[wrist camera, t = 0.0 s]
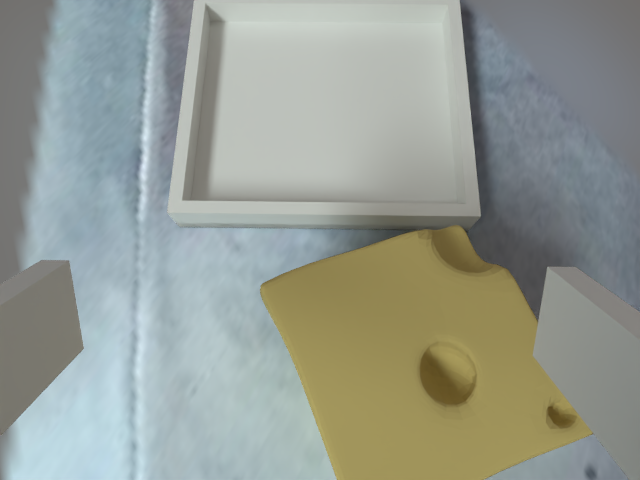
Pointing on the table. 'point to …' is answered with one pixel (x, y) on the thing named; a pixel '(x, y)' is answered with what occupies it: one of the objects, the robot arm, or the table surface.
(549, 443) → the cheese
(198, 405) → the table surface
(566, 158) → the table surface
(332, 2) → the serving tray
